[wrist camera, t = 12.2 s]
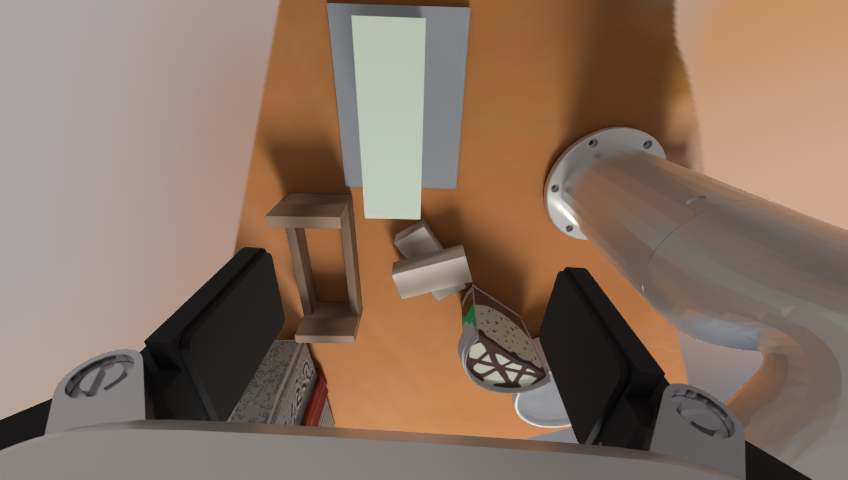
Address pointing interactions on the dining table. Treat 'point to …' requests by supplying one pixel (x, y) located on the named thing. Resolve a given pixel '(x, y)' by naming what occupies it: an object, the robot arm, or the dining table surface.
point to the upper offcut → (431, 272)
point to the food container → (498, 347)
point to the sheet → (390, 112)
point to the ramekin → (542, 401)
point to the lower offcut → (422, 249)
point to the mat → (440, 86)
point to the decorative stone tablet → (285, 390)
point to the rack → (295, 215)
